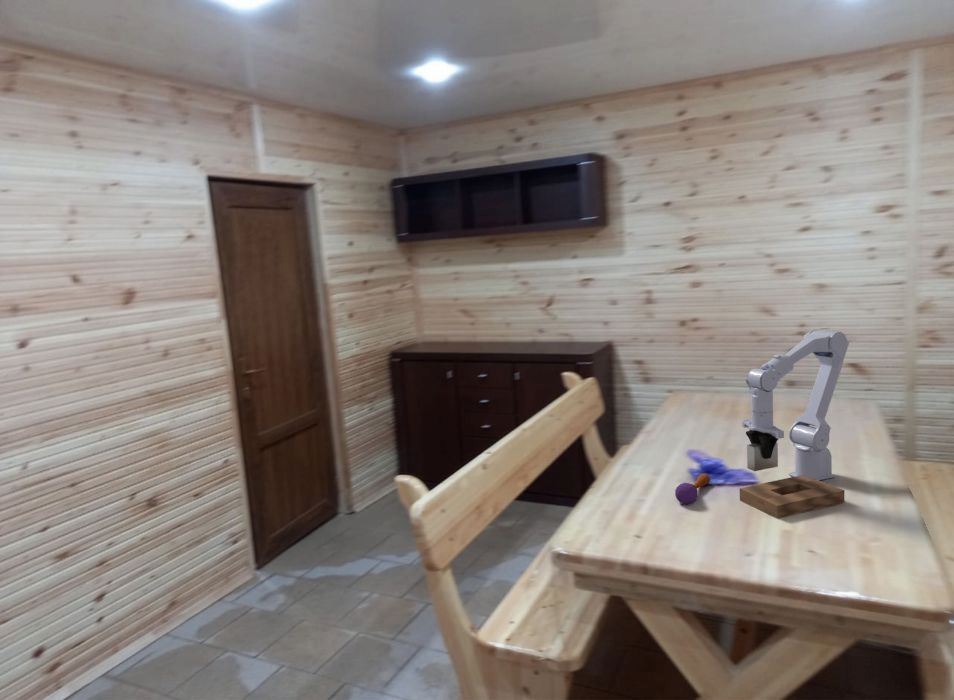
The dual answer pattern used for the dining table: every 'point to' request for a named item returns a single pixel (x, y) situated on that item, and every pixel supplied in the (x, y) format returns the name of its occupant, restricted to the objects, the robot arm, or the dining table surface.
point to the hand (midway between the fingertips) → (762, 456)
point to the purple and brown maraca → (690, 490)
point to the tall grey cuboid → (760, 457)
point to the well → (791, 496)
